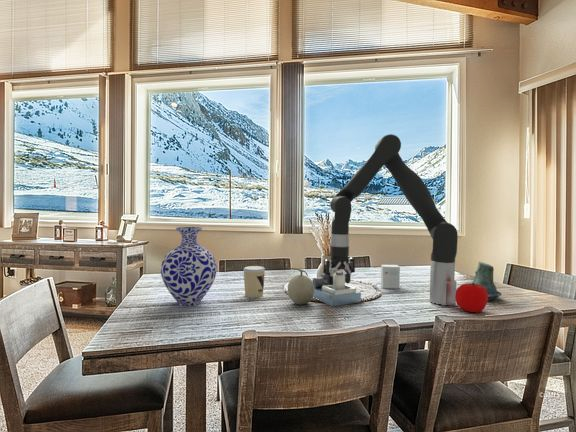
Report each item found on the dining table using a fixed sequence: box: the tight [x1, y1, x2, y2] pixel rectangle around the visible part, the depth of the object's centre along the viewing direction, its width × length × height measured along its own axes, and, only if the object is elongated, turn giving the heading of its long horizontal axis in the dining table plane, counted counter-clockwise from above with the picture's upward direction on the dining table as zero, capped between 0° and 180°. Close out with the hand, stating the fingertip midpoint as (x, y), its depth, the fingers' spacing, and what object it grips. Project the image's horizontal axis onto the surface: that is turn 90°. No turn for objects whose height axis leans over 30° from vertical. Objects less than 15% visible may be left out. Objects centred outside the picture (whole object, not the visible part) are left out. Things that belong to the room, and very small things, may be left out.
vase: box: [160, 226, 218, 307], centre depth 151 cm, size 22×22×30 cm
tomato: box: [455, 282, 489, 313], centre depth 145 cm, size 12×12×11 cm
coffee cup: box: [243, 265, 266, 298], centre depth 164 cm, size 9×9×12 cm
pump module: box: [332, 270, 346, 290], centre depth 157 cm, size 5×5×8 cm
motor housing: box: [311, 273, 362, 307], centre depth 160 cm, size 18×14×9 cm
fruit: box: [285, 266, 314, 305], centre depth 152 cm, size 10×12×15 cm
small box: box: [380, 264, 401, 290], centre depth 182 cm, size 8×6×10 cm
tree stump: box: [470, 261, 502, 301], centre depth 166 cm, size 18×20×18 cm
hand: (339, 283), depth 156 cm, fingers open, 8 cm apart
